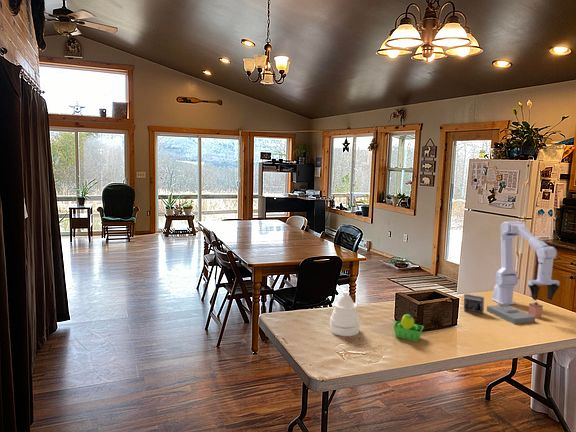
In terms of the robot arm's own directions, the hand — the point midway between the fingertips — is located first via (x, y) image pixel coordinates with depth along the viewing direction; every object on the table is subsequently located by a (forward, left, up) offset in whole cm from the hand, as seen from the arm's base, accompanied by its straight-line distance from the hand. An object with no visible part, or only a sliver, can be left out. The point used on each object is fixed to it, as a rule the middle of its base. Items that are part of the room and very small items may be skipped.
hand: (542, 299), depth 209 cm
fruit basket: (+4, -74, -10) cm, 75 cm away
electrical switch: (-16, -25, -10) cm, 32 cm away
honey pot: (-10, -97, -10) cm, 98 cm away
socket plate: (-7, -11, -10) cm, 16 cm away
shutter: (-9, -11, -7) cm, 16 cm away
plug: (-4, +1, -10) cm, 11 cm away
